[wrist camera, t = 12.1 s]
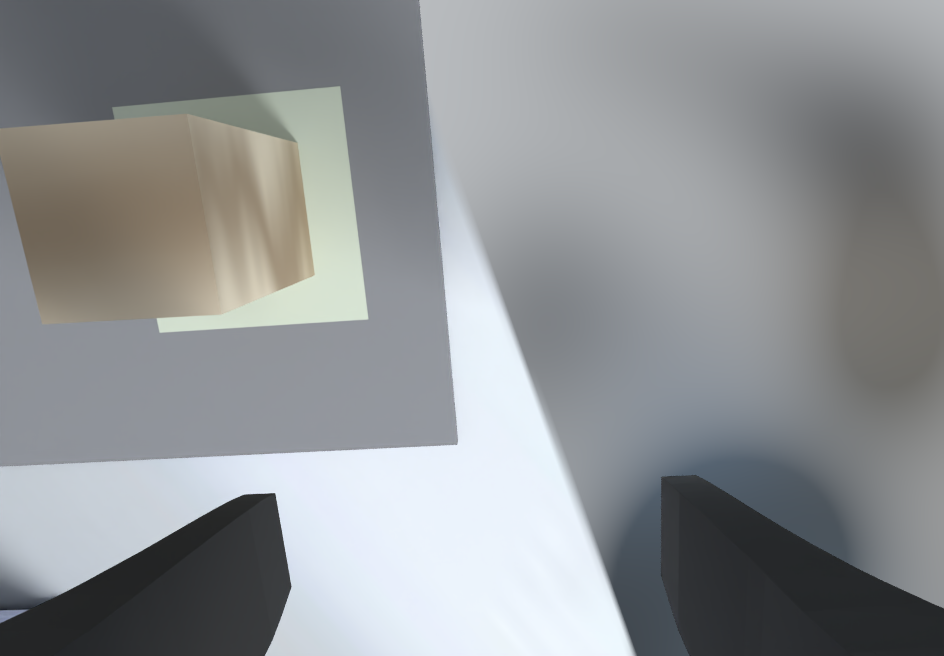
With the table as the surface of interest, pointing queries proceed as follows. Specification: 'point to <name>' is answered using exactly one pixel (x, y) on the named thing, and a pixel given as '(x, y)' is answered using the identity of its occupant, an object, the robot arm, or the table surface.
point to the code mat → (278, 314)
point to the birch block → (155, 216)
